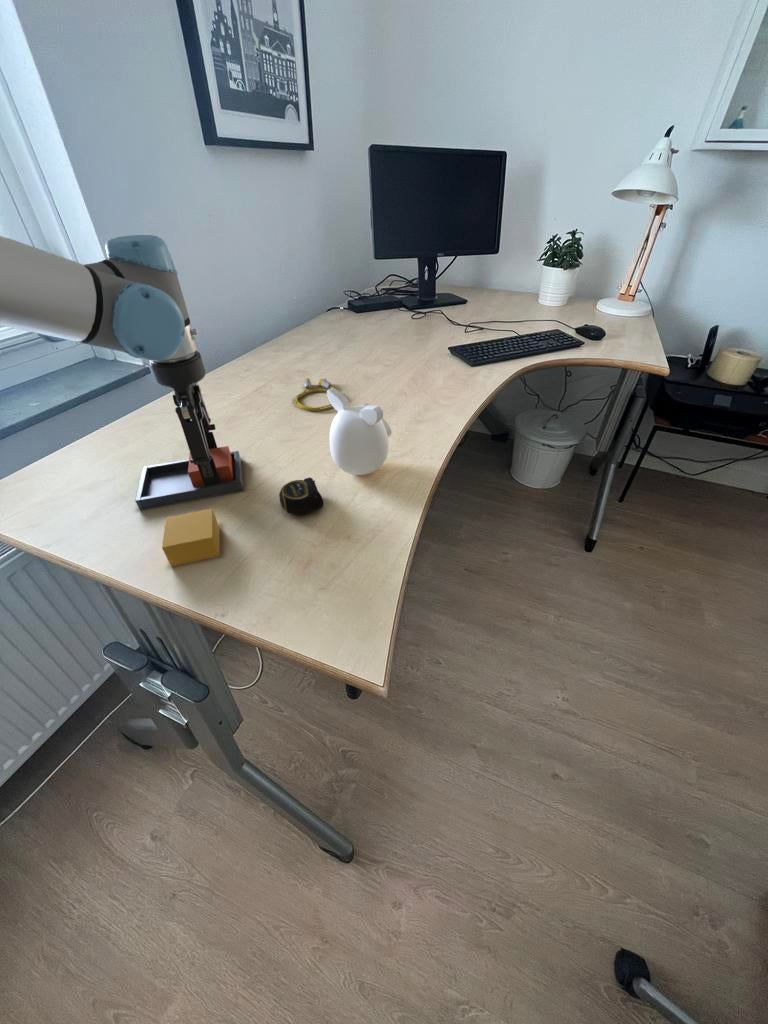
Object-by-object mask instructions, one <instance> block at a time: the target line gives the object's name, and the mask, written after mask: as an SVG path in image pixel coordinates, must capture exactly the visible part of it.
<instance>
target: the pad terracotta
mask: <svg viewBox="0 0 768 1024" xmlns="http://www.w3.org/2000/svg"><path fill="white" fill-rule="evenodd" d="M209 452H210V455H211V456H212V457H213V460H214V463H215V466H216V469H217V472H218V475H219V478H220V481H221V483H224V482H230V481H234V466H233V460H232V457H231V454H230V452H231V450H230V448H229V445H225V446H220V447H217V448H213V449H209ZM188 456H189V457H188V459H189V466H188V474H189V477H190V479H191V482H192V485H193V487H194V488H197V487H202V486H205V485H204V483H203V480H202V477H201V474H200V471H199V469H198V466H197V465H194V463H191V462H190V460H191V459H192V457H191V453H190V452H189V455H188Z"/></svg>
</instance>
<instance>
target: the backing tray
mask: <svg viewBox="0 0 768 1024" xmlns="http://www.w3.org/2000/svg"><path fill="white" fill-rule="evenodd" d="M230 454H231V457H232V460H233V466H234V481H230V482H224V483H219V484H213V485H208V486H202V487H197V488H194V487H193V485H192V482H191V479H190V477H189V474H188V466H189V458H188V459H180V460H175V461H169V462H164V463H157V464H151V465H145V466H142V470H141V475H140V479H139V484H138V487H137V493H136V496H135V503H136V505H137V507H138V510H139V511H141V510H147V509H151V508H152V509H153V508H156V507H163V506H169V505H173V504H179V503H185V502H190V501H195V500H200V499H201V500H202V499H205V498H211V497H216V496H223V495H227V494H233V493H238V492H243V491H244V482H243V481H244V480H243V471H242V470H243V469H242V458H241V456H240V451H239V450H236V451H235V450H234V451H230Z"/></svg>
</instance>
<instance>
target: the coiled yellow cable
mask: <svg viewBox="0 0 768 1024" xmlns="http://www.w3.org/2000/svg"><path fill="white" fill-rule="evenodd" d="M303 386H304V390H303V391H302V392H301V393H299V394H297V395H296V397H295V399H294V404H295V405H296V407H298V408H300V409H302V410H304V411H309V412H323V411H327V410H328V411H329V410H331V409H334V407H333V406H332V405H331V403H329V404H327V405H324V406H318V407H312V406H306V405H304V404H302V403H301V402H299V399H301V398H302V397H304V396H307V395H310V394H312V393H327V391H328V390H329V389H331V388H333V384H332V383H331V382H329V381H328V380H327V379H326V378H320V379H319V381H318V386H321V387H323V388H325V389H321V388H320V389H319V388H316V389H315V388H314V389H313V388H312V389H311V387H312V383H311V380H310V378H305V379H304V382H303Z"/></svg>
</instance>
